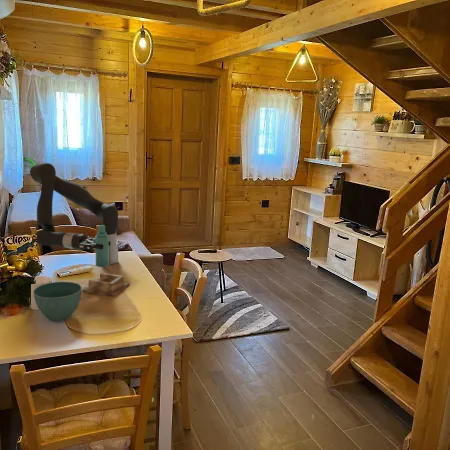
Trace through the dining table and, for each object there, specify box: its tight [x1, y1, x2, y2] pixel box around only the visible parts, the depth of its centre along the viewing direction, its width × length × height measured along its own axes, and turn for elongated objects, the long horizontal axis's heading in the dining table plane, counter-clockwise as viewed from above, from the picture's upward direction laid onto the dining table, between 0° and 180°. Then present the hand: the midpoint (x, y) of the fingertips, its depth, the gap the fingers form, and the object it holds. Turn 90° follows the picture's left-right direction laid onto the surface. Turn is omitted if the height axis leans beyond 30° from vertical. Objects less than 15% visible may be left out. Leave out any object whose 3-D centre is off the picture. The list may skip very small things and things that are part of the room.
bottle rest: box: [82, 272, 130, 298], centre depth 219 cm, size 16×16×5 cm
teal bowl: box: [34, 281, 83, 323], centre depth 185 cm, size 18×18×12 cm
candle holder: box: [29, 275, 53, 311], centre depth 195 cm, size 10×10×12 cm
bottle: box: [94, 224, 109, 268], centre depth 215 cm, size 6×6×19 cm
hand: (106, 245), depth 214 cm, fingers closed on bottle, 6 cm apart
